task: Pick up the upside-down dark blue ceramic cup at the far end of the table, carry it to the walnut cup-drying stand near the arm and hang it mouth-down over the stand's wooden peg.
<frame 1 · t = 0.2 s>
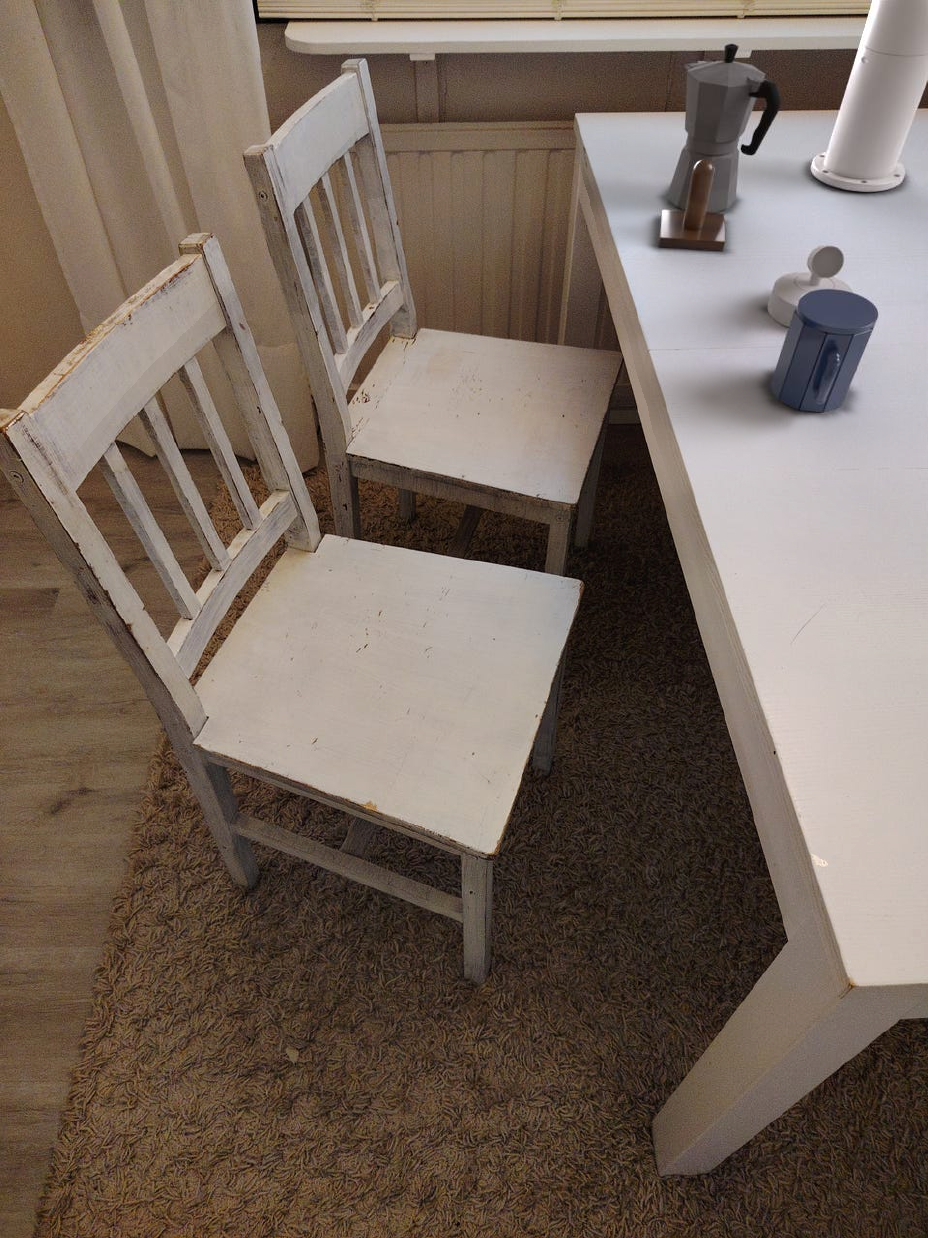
coffeepot: (706, 203, 109), on the table
cup stand: (691, 234, 103), on the table
wall hook: (805, 316, 90), on the table
cup: (807, 390, 81), on the table
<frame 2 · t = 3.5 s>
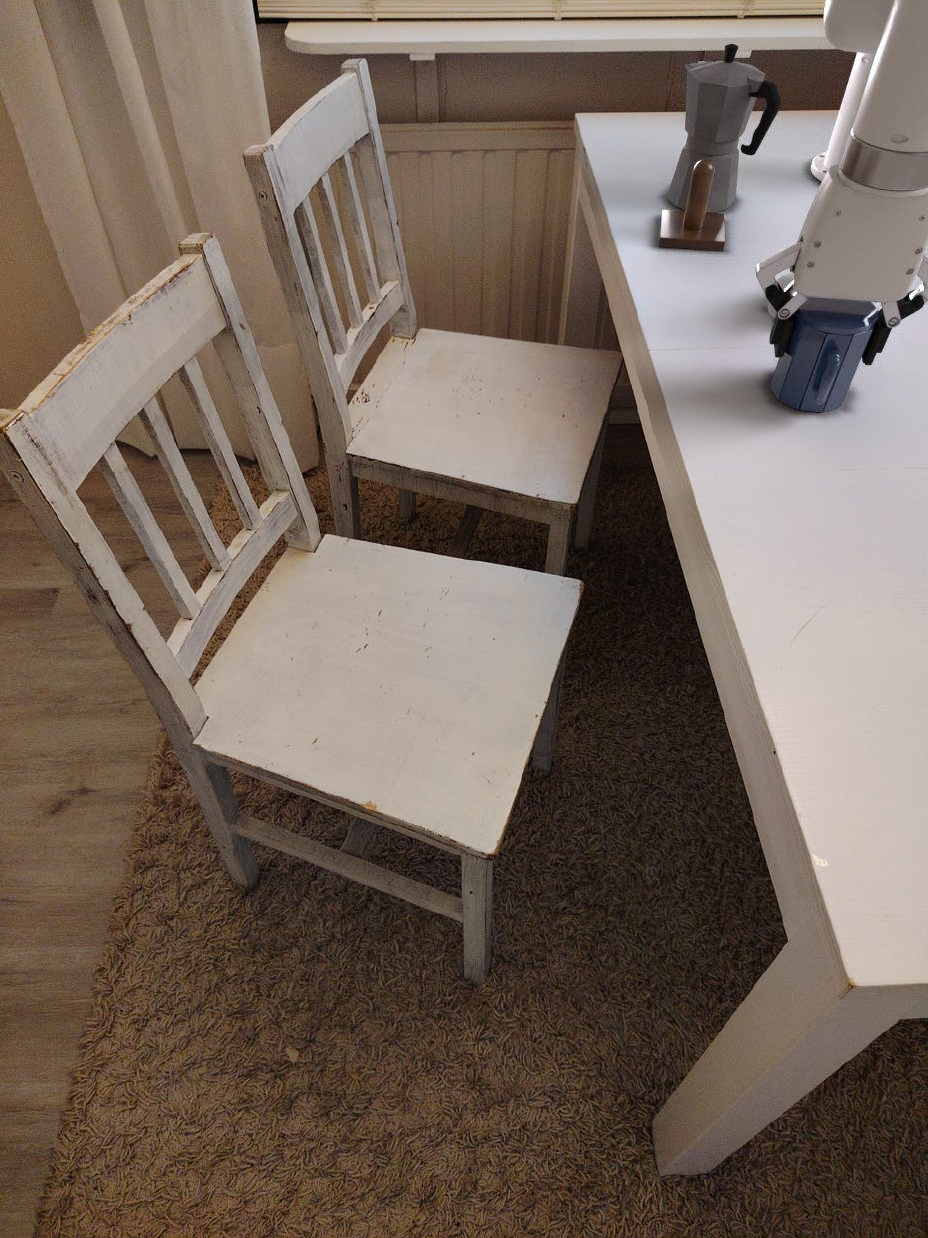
hand: (821, 352, 78), 4 cm above the table, tool pointing down, fingers closed on cup, 7 cm apart
cup: (807, 390, 81), on the table, touching gripper
everything else where it was.
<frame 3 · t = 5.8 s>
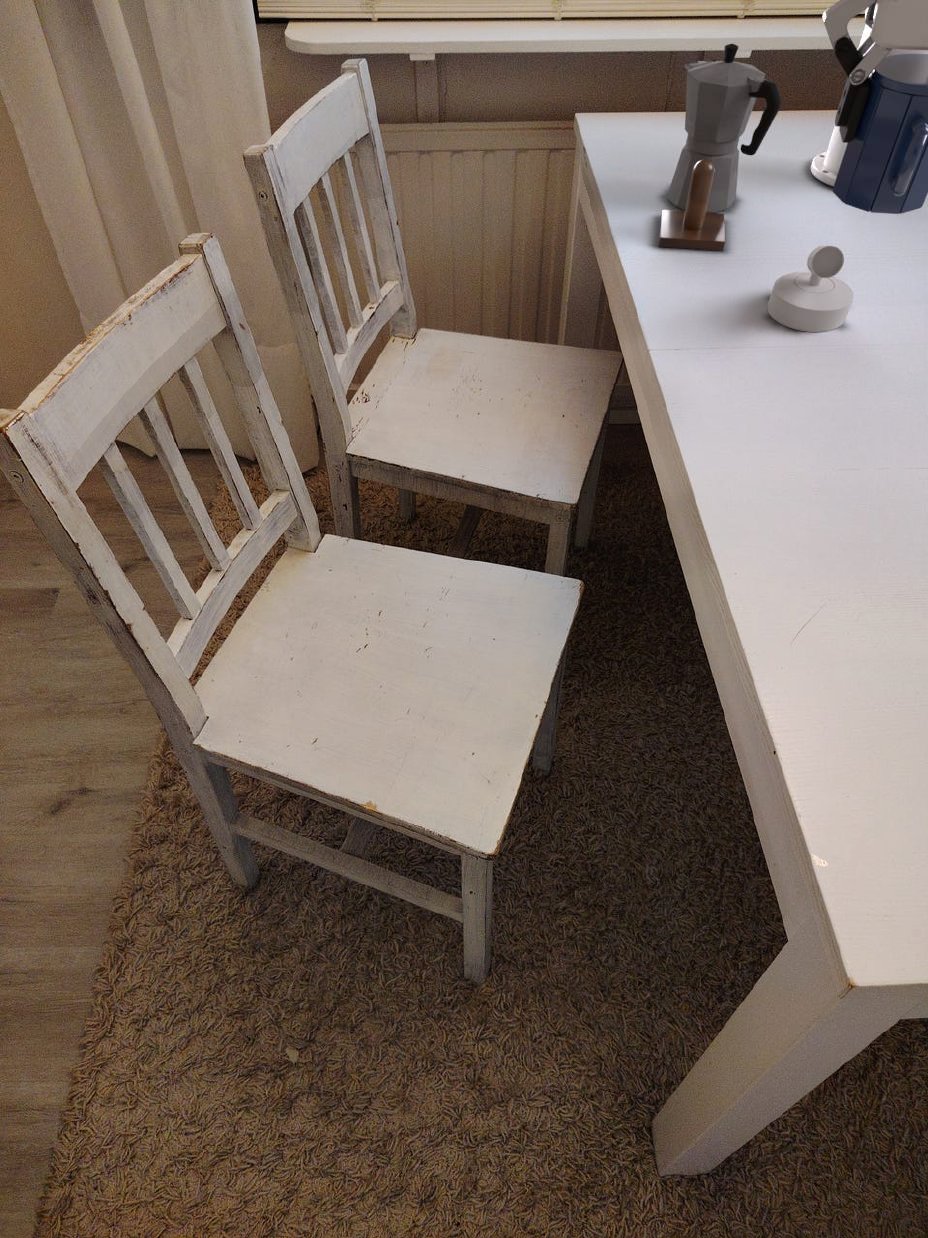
hand: (899, 136, 63), 23 cm above the table, tool pointing down, fingers closed on cup, 7 cm apart
cup: (878, 193, 67), point 19 cm above the table, touching gripper
everything else where it was.
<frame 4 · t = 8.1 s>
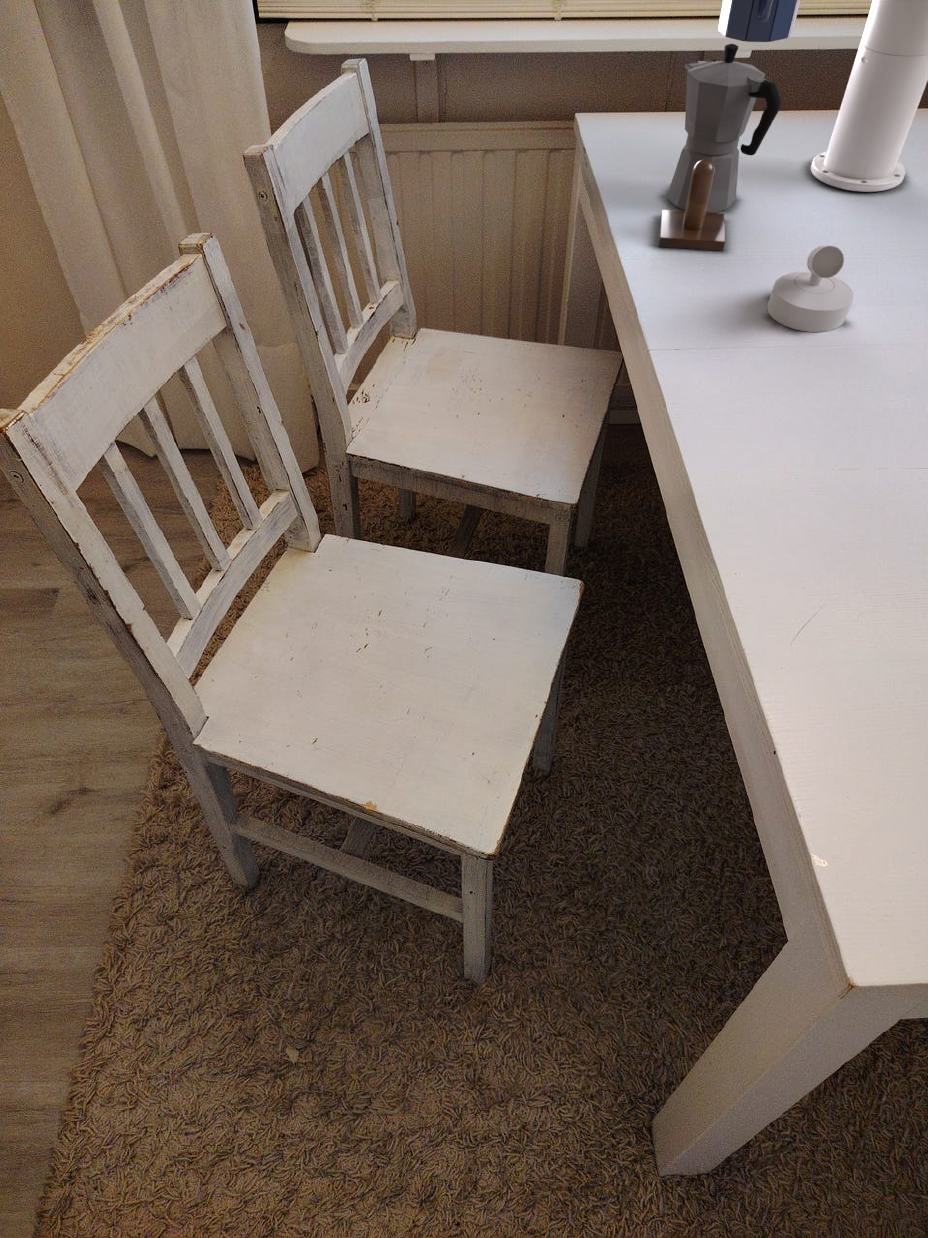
cup: (755, 30, 82), point 23 cm above the table, touching gripper
everything else where it was.
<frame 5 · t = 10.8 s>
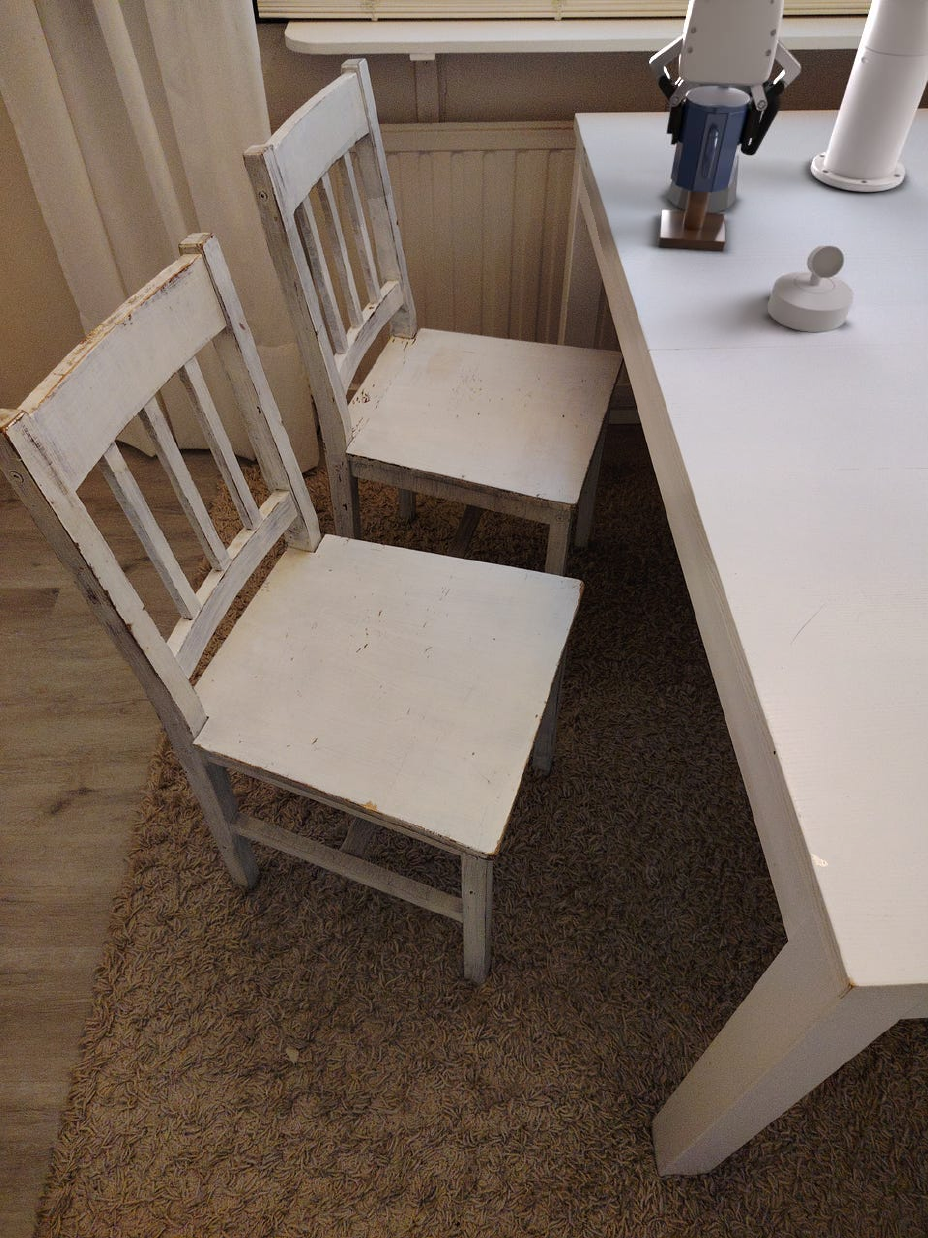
hand: (709, 141, 95), 11 cm above the table, tool pointing down, fingers closed on cup, 7 cm apart
cup: (701, 179, 98), point 7 cm above the table, touching gripper
everything else where it was.
when the fingers open (5 cm above the table, at t = 13.0 s): cup stays where it is, resting on cup stand.
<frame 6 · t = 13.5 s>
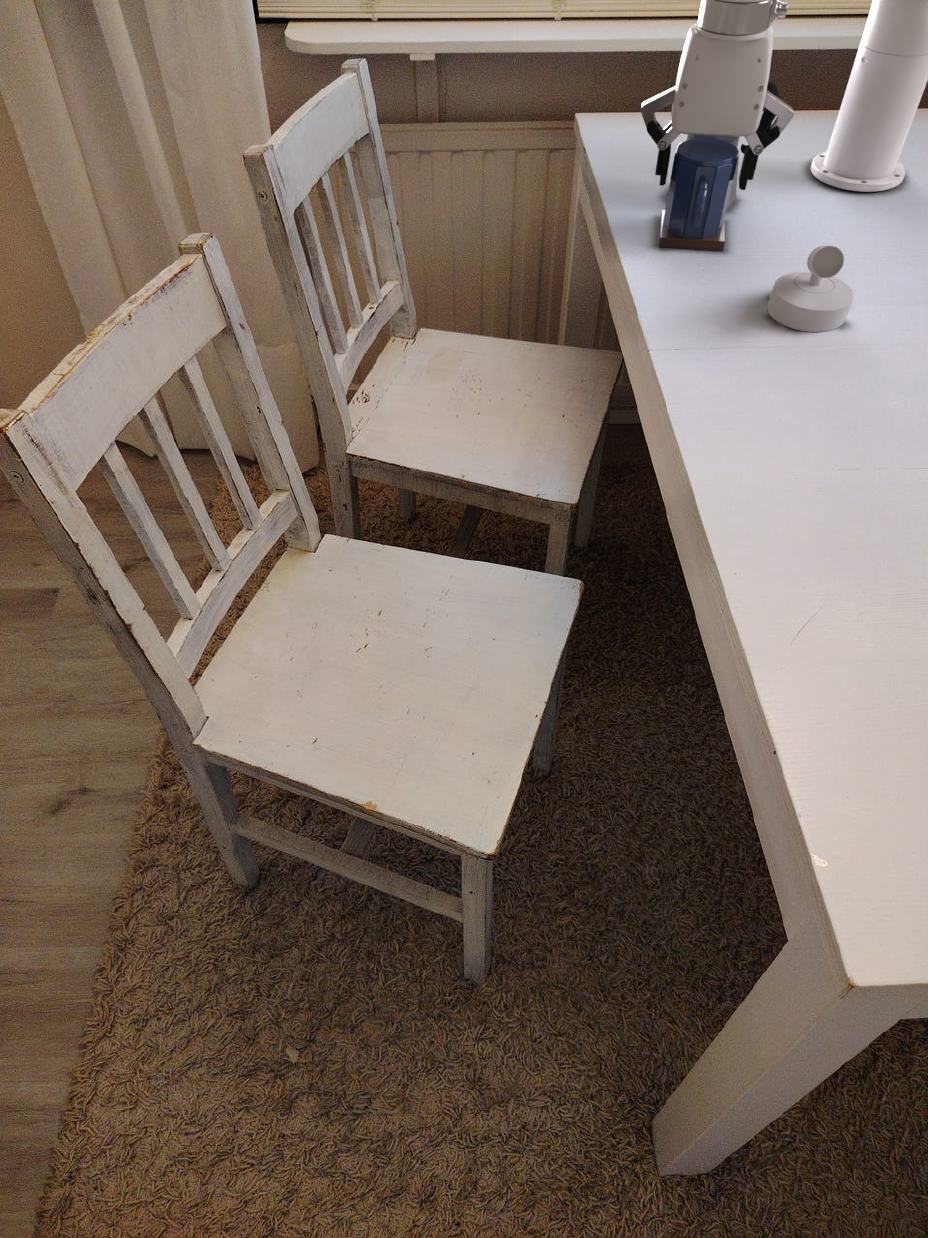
hand: (701, 183, 98), 6 cm above the table, tool pointing down, fingers open, 9 cm apart
cup: (692, 225, 102), point 1 cm above the table, touching cup stand
everything else where it was.
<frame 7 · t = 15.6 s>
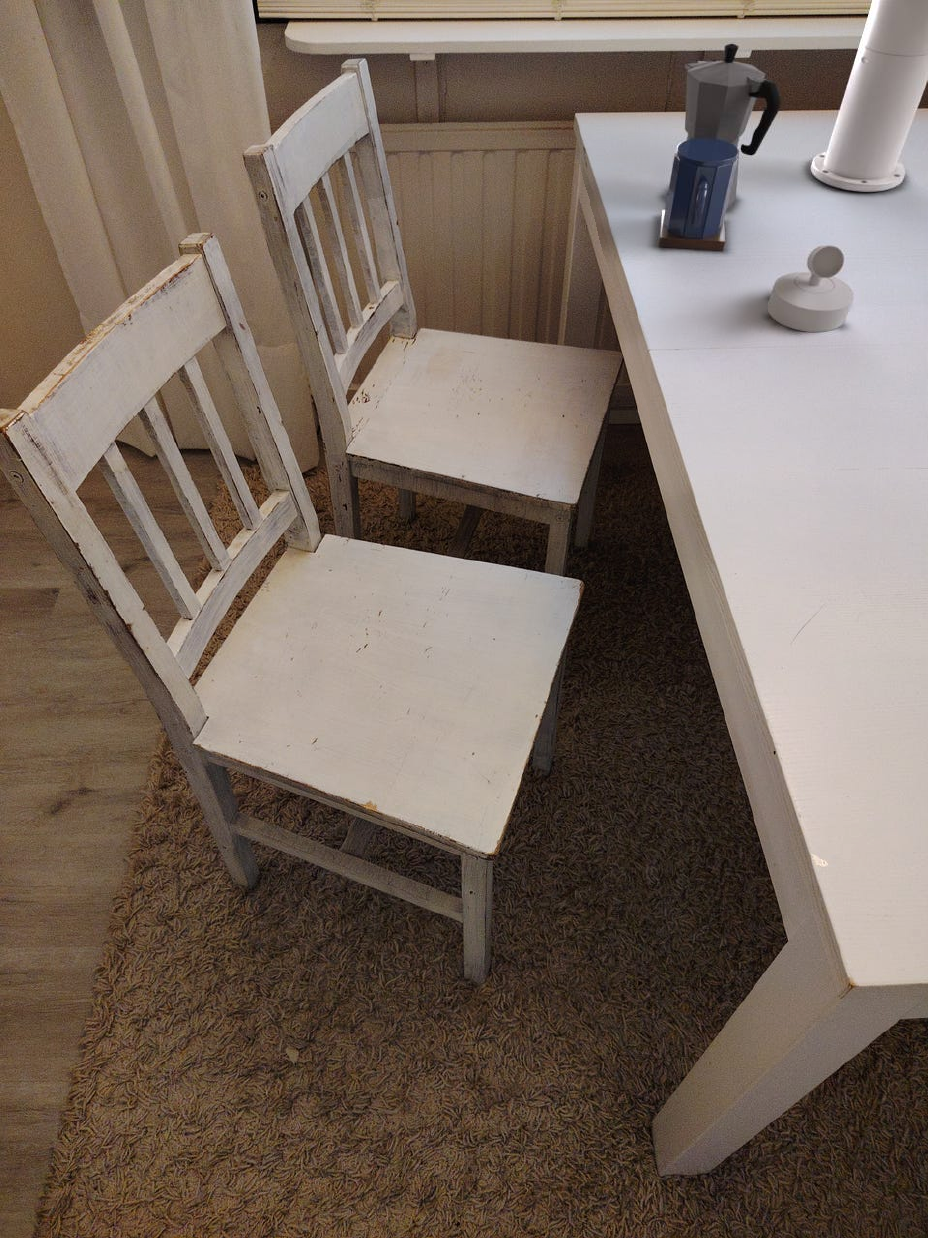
nothing on the table moved.
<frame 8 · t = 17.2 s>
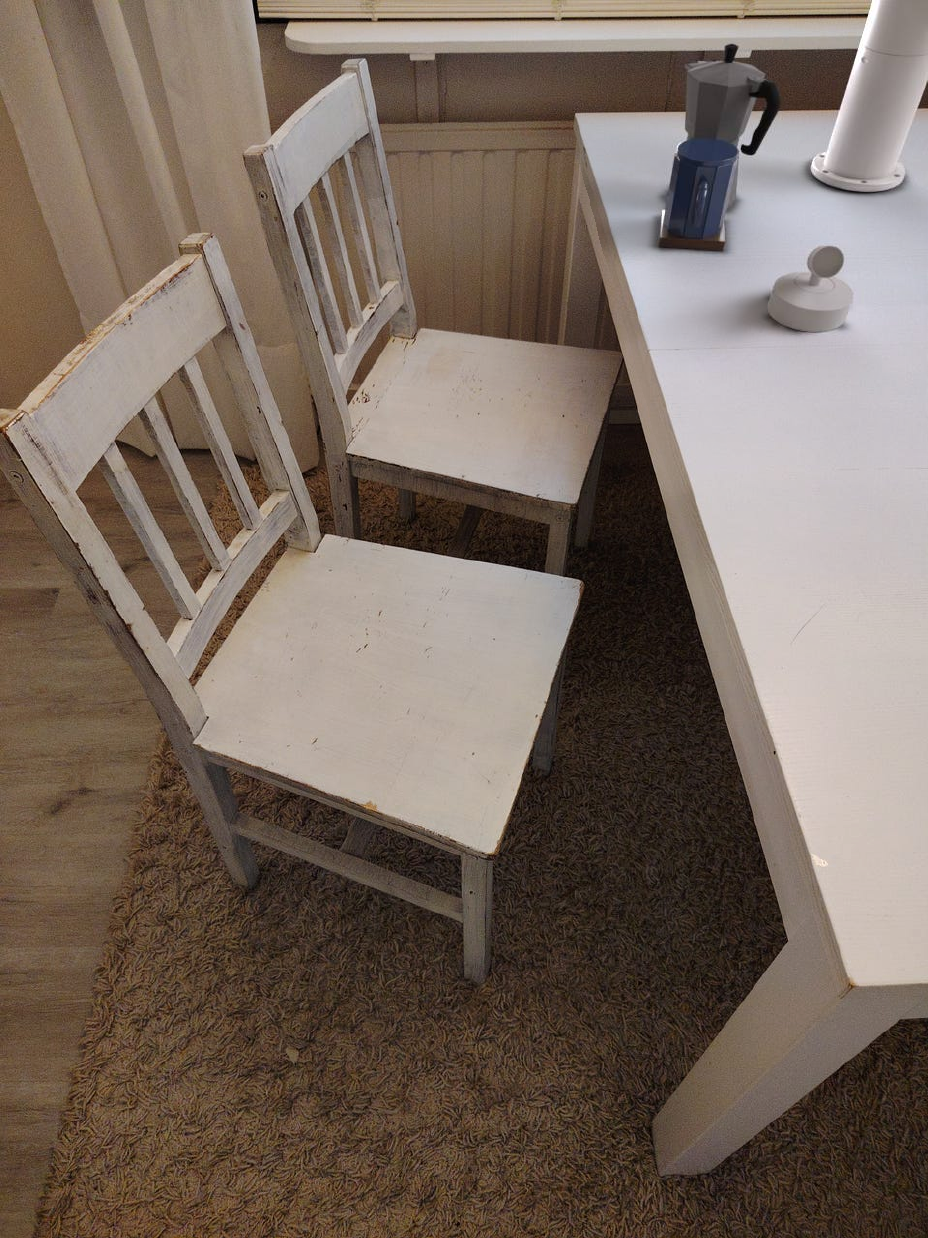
nothing on the table moved.
at the end: cup 0.1 cm off-centre on the cup stand, point 1.2 cm above the cup stand's base; cup tilted 0°; the gripper is holding nothing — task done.
